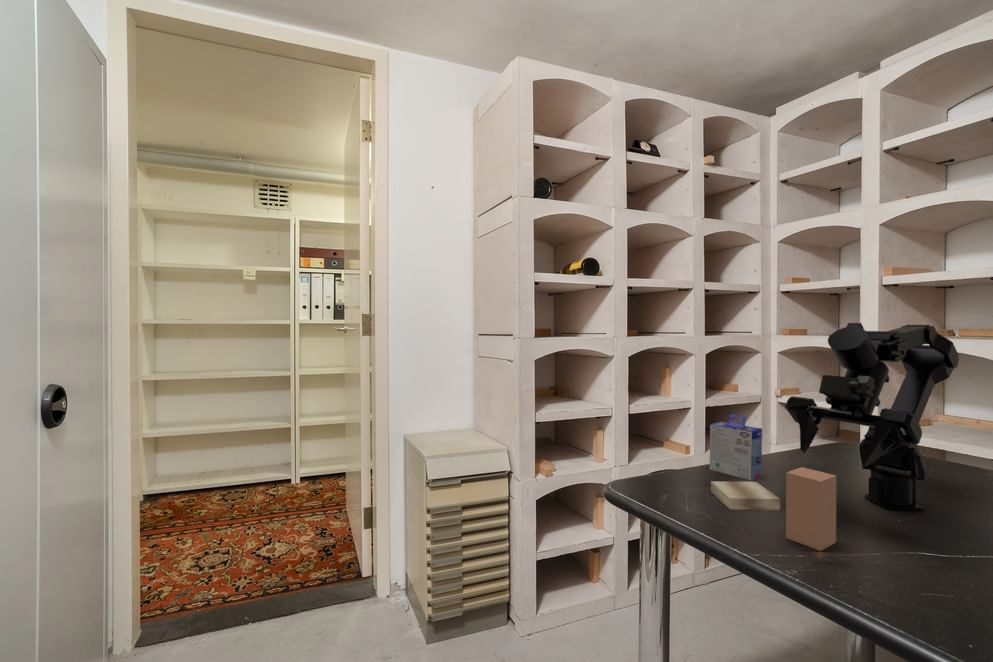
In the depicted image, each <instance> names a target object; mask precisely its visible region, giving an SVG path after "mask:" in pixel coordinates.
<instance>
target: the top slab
mask: <svg viewBox="0 0 993 662" xmlns="http://www.w3.org/2000/svg"><path fill="white" fill-rule="evenodd" d="M710 492H711V493H712V494H713V493H714V494H715V495H716V496H717V497H718V498H719V499H720V500H721V501H722V502H723V503H722V502H721V501H720V500H719V499H718V498H717V497H716V496H715V495H714V494H713V495H714V496H715V497H716V498H717V499H718V500H719V501H720V502H721V503H722V504H724V505H725V504H726V505H727V506H728V507H729V508H730V509H779V510H781V498H780V497H778V496H777V495H775V494H774V493H772V491H769V489H767V488H765V487H764V486H762V485H761V484H760V483H758V482H756V481H710ZM726 505H725V506H726ZM727 506H726V507H727ZM728 507H727V508H728ZM729 508H728V509H729ZM730 509H729V510H730Z"/></svg>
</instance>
